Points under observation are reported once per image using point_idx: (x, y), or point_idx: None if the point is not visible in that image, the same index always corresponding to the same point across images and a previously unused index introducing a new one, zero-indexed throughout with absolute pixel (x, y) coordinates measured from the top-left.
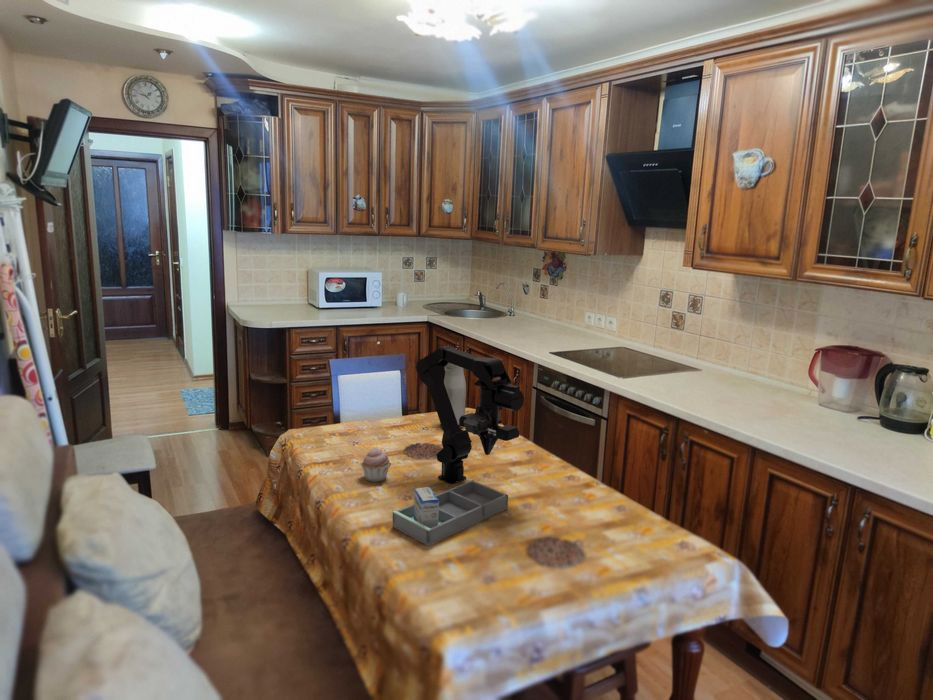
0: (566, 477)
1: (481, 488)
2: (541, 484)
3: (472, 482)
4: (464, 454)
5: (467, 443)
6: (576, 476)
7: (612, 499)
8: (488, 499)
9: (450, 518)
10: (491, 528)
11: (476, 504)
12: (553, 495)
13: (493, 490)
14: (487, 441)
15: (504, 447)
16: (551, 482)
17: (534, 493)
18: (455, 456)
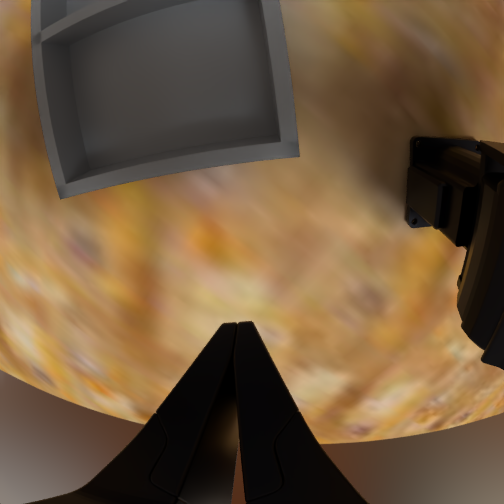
0: None
1: (209, 148)
2: None
3: (281, 140)
4: (469, 259)
5: (499, 325)
6: None
7: (77, 395)
8: (158, 143)
9: None
10: (22, 52)
11: (60, 20)
12: (123, 349)
13: (122, 169)
14: (146, 472)
15: (421, 408)
16: None
17: (154, 326)
18: (491, 181)
